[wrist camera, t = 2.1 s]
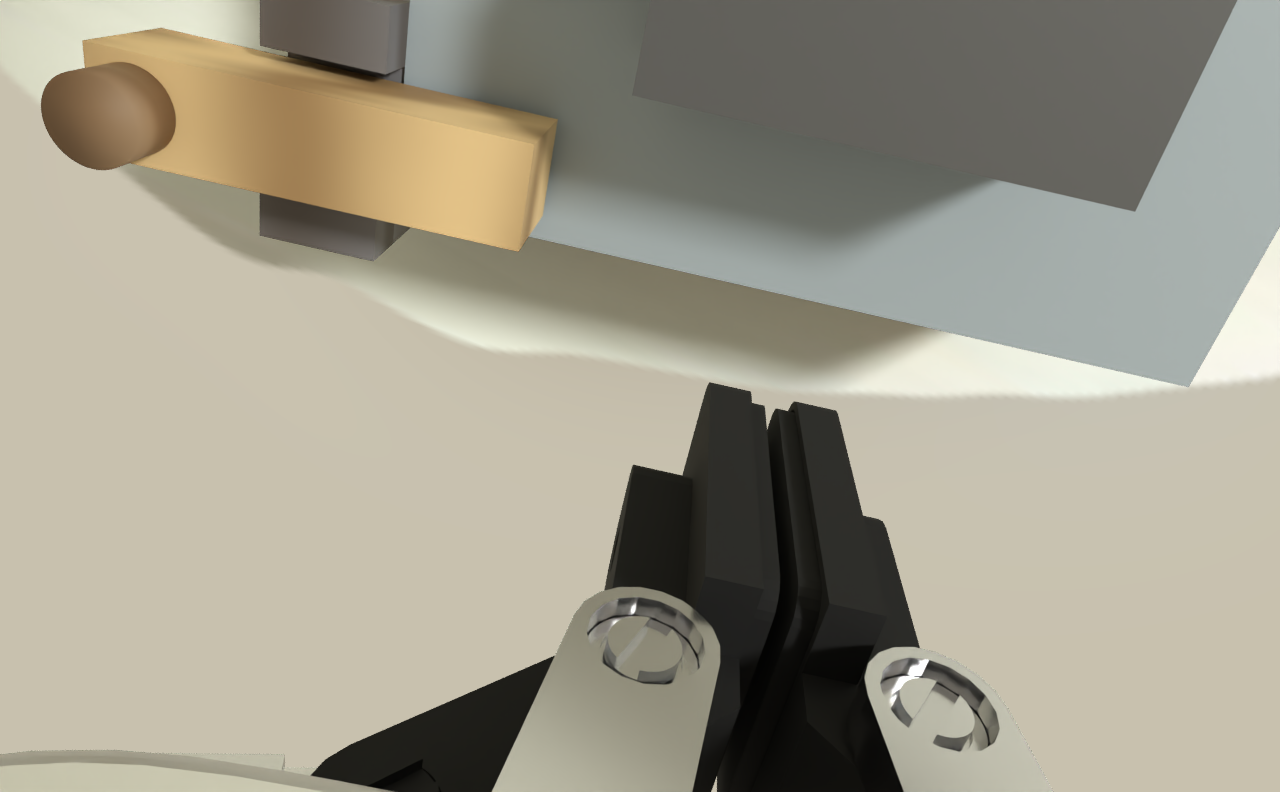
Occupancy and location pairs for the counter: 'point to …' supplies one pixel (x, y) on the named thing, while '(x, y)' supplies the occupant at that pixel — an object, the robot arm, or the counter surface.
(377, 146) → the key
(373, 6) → the chest
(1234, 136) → the lid
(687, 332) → the counter surface
